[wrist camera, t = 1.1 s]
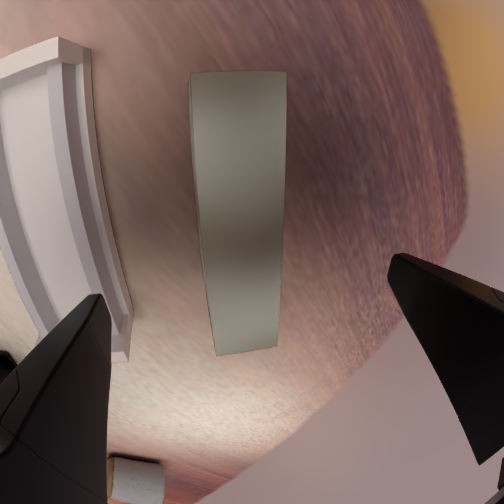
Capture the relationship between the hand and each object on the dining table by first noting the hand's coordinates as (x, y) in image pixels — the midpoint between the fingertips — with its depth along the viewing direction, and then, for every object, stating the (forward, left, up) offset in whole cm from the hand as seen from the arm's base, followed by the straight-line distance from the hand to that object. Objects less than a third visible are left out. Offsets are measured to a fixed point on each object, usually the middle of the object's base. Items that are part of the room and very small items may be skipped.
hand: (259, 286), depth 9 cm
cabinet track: (0, +10, -11) cm, 15 cm away
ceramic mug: (-40, +17, -11) cm, 45 cm away
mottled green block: (0, 0, -11) cm, 11 cm away
